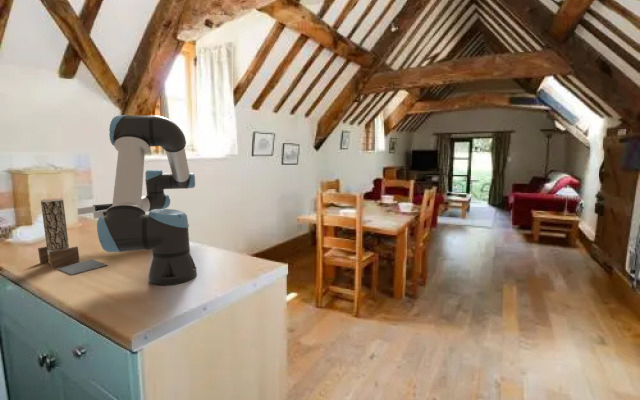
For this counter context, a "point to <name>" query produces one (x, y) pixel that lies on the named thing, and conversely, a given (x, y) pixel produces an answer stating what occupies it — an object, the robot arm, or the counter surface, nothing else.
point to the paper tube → (54, 224)
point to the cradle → (59, 256)
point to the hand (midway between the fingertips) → (85, 213)
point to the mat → (81, 267)
